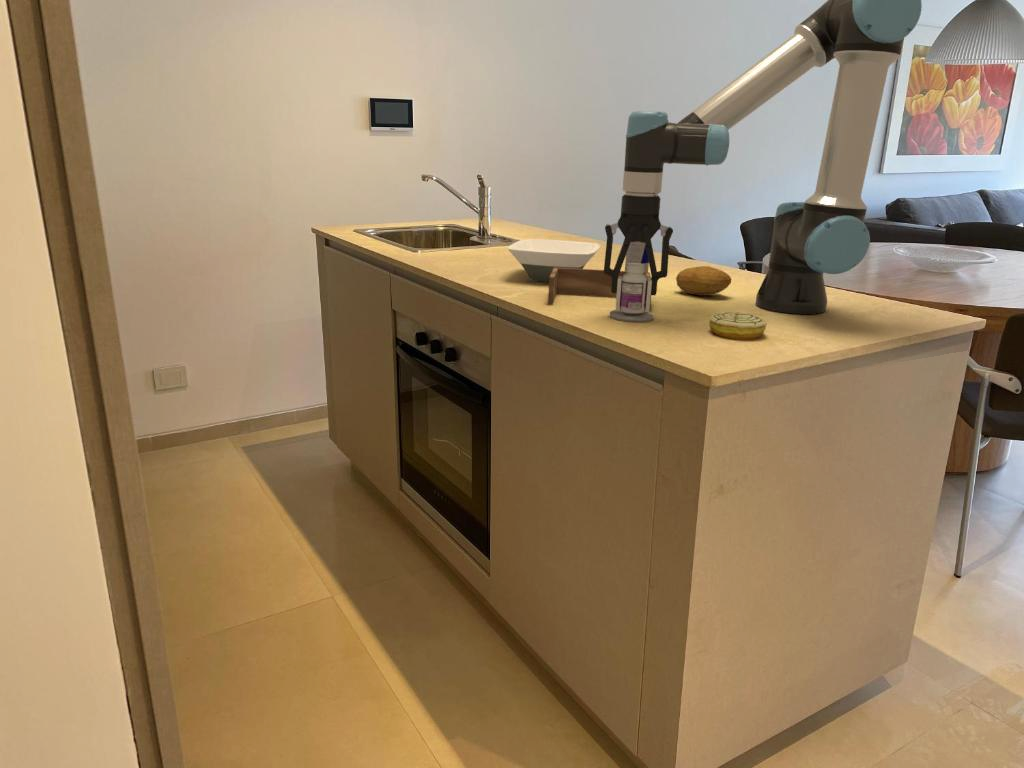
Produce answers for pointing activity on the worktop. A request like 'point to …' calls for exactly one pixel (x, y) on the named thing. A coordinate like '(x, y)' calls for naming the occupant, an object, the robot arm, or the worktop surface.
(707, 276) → the potato
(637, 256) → the beverage can
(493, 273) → the worktop surface
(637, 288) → the pill bottle
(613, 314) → the coaster
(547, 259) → the bowl
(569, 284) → the wooden u-shaped frame
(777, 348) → the worktop surface
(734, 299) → the worktop surface
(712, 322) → the decorated donut
